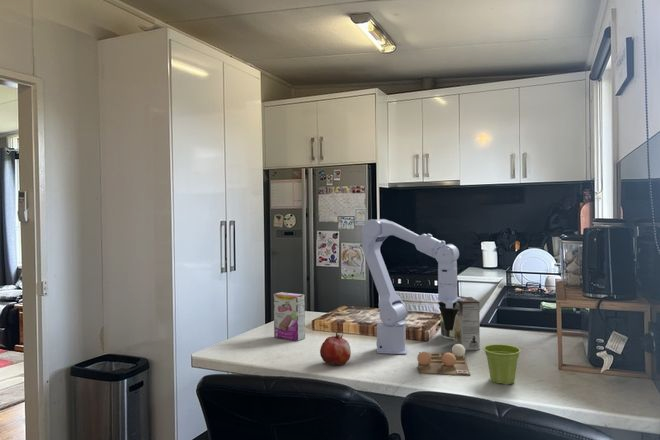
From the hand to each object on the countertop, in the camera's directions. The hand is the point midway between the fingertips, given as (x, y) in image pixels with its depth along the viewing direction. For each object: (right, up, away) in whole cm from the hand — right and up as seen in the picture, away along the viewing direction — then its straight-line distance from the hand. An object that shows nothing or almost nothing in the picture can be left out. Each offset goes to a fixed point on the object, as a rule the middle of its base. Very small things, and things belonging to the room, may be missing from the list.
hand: (448, 327), depth 151 cm
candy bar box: (-52, -11, +29) cm, 60 cm away
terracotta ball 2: (-2, -7, -10) cm, 12 cm away
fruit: (-35, -11, -3) cm, 37 cm away
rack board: (-3, -10, -4) cm, 11 cm away
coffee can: (+9, -10, +28) cm, 31 cm away
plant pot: (+10, -10, -20) cm, 24 cm away
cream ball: (+3, -7, 0) cm, 8 cm away
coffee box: (+10, -10, +14) cm, 20 cm away
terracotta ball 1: (-9, -7, -8) cm, 14 cm away
